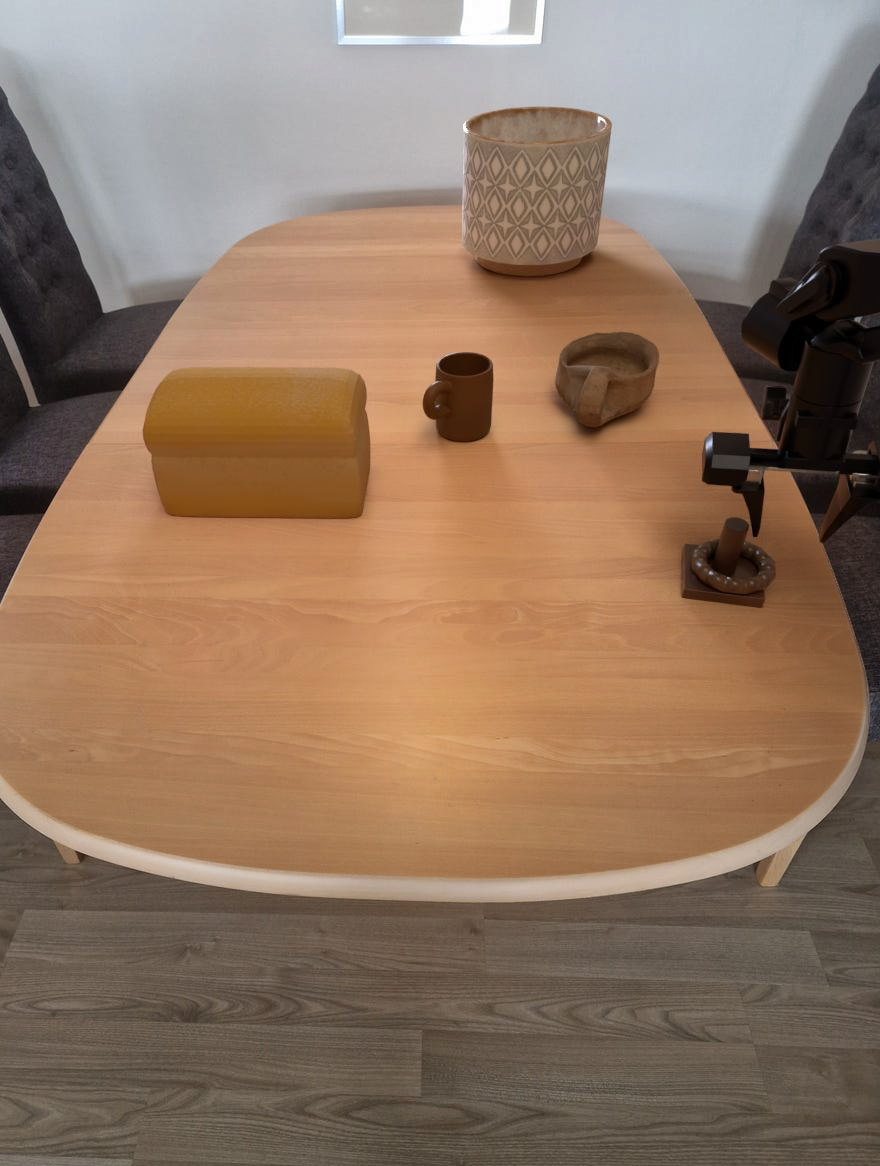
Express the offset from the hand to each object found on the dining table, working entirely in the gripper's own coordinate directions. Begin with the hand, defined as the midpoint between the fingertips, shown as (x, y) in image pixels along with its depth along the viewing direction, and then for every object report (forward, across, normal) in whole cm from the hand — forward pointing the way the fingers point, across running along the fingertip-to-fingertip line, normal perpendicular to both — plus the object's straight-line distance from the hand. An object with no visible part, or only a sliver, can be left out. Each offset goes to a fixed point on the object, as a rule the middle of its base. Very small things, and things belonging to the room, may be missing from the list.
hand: (787, 537), depth 84 cm
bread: (+3, +59, -6) cm, 60 cm away
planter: (+3, +40, -92) cm, 100 cm away
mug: (+4, +40, -24) cm, 46 cm away
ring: (+4, +4, 0) cm, 6 cm away
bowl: (+5, +21, -34) cm, 40 cm away
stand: (+6, +5, 0) cm, 8 cm away
